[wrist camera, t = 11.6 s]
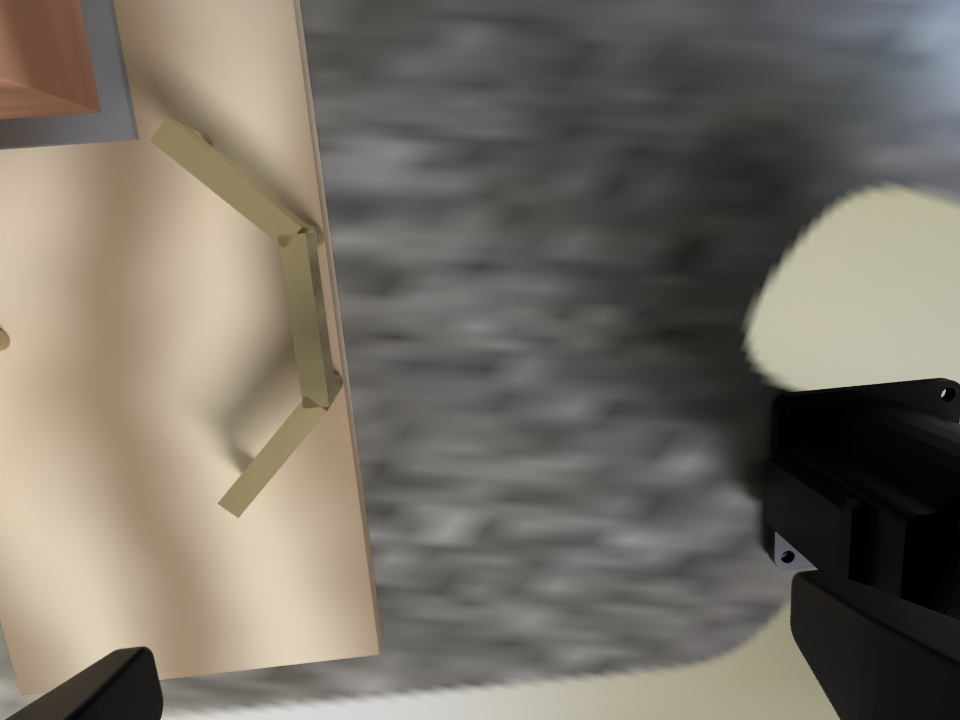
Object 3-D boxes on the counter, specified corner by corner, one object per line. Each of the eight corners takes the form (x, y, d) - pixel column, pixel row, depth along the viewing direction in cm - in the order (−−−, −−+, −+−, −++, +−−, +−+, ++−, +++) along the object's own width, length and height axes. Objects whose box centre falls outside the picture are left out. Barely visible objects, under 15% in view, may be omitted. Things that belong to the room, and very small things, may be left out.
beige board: (283, -124, 17) (270, -154, 15) (381, 635, 22) (378, 660, 20) (-170, -101, 16) (-223, -129, 15) (40, 674, 21) (14, 702, 20)
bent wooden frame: (309, 124, 17) (287, 105, 15) (355, 474, 19) (343, 509, 17) (-133, 155, 16) (-232, 142, 14) (-32, 513, 19) (-102, 556, 16)
